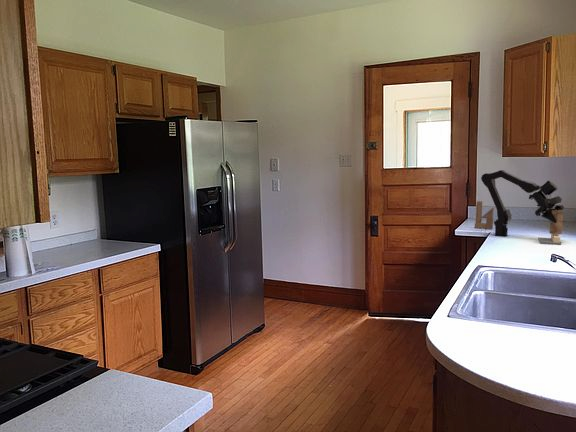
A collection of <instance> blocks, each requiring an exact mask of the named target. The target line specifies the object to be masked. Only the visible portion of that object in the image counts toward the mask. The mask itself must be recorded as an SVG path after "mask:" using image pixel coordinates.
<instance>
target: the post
mask: <svg viewBox="0 0 576 432" xmlns="http://www.w3.org/2000/svg"><path fill="white" fill-rule="evenodd" d="M552 215H553V216H554V218H555V219H556V221H557V222H556V223H554V222H552V221H550V220H549V221H550V222H549V234H550V235H551V234H558V235H562V234H563V222H564V210H562V211H561V210H552Z"/></svg>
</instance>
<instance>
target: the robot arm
mask: <svg viewBox="0 0 576 432" xmlns="http://www.w3.org/2000/svg"><path fill="white" fill-rule="evenodd" d="M499 178H502V179H504V180H506V181H508V182H510V183H513V184H514V185H516V186H518V187H519V188H521V190H523V191H524V192H525V193H528V194H529V196H528V199H529V200H534V201H535V203H536V206H537V207H538V208H537V209H536V210H535V211H534V215H535V216H536V217H540V216H541V217H542V218H544V219H546V220H548V221H552V222H554V223H556V222H557V221H556V219H555V218H554V216H553V215H552V210H561V211H564V209H565V206H564V205H563V204H559V203H562V199H563V198H562V197H560V196H559V195H557V196H555V197H551V198H547V196H551V195H553V193H554V192H556V191H557V190H558V189H559V188H558V186H557V185H556V184H554V183H553V182H552V181H551V180H547V181H546V182H545V183H544V184H542V185H538V184H537V183H535V182H533V181H529V180H525V179H522V178H520V177H519V176H515V175H513V174H511V173H510V172H508V171H505V170H504V169H500V170H497V171H495V172H491V173H490V172H488V173H487V172H486V173H483V174H482V175H481V177H480V179H481V182H482V184H483V185H484V186H485V187H486V188H487V190H488V192H489V195H490V197H491V200H492V202H493V205H494V206H495V208H496V214H497V216H496V217H497V219H496V220H495V221H493V226H494V227H495V229H494V236H498V237H507V236H508V230H509V229H508V227H507V226H508V224H509V223H510V222H511V221H512V216H513V214H511V211H510V209H506V207H505V205H504V203H503V200H502V199H501V196H500V194H499V191H498V189H497V187H496V180H497V179H499ZM531 193H533V194H531ZM556 204H557V205H556ZM541 214H542V215H541Z"/></svg>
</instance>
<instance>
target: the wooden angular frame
mask: <svg viewBox="0 0 576 432" xmlns="http://www.w3.org/2000/svg"><path fill="white" fill-rule="evenodd" d="M475 207H476V208H475V222H474V229H479V230H493V228H494V210H495V209H494V207H492V208H491V209H489V210H488V211H487V212H485V214H483V201H481V200H477V201H476V206H475ZM482 214H483V215H482ZM482 219H485V220H486V221H485V222H482Z"/></svg>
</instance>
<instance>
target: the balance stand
mask: <svg viewBox="0 0 576 432" xmlns="http://www.w3.org/2000/svg"><path fill="white" fill-rule="evenodd" d="M537 240H538V241H539V243H540V245H554V246H555V245H557V246H561V245H562V242H561V236H560V234H550V237H537Z"/></svg>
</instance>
